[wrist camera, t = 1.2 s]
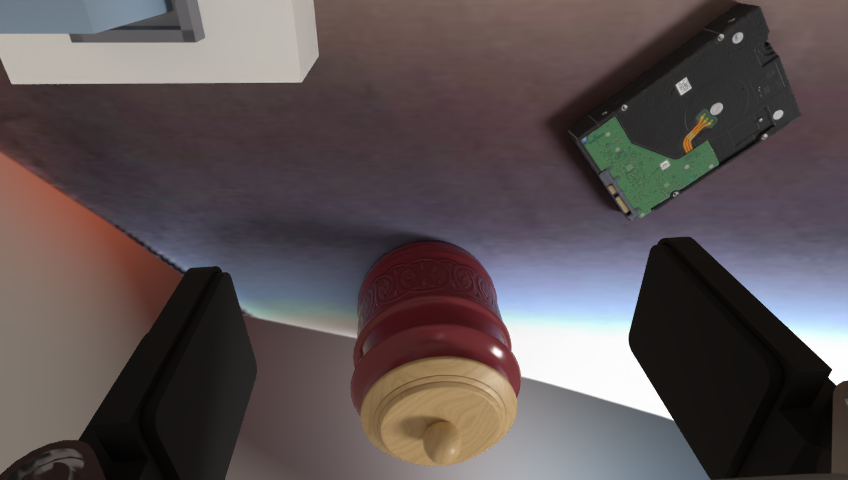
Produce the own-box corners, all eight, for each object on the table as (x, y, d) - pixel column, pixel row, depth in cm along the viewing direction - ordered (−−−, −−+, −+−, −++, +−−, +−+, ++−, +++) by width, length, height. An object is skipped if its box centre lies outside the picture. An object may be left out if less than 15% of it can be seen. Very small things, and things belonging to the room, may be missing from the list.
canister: (459, 214, 42) (498, 362, 27) (512, 313, 48) (567, 478, 33) (332, 273, 44) (304, 439, 29) (398, 360, 51) (403, 533, 36)
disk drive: (733, -2, 35) (562, 130, 39) (759, 1, 33) (574, 141, 37) (779, 105, 39) (621, 213, 44) (805, 114, 37) (635, 228, 41)
